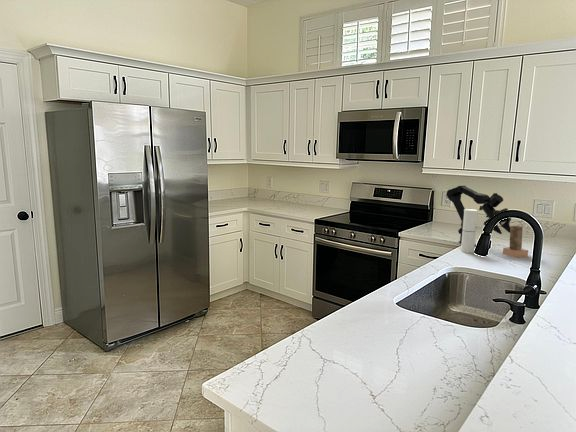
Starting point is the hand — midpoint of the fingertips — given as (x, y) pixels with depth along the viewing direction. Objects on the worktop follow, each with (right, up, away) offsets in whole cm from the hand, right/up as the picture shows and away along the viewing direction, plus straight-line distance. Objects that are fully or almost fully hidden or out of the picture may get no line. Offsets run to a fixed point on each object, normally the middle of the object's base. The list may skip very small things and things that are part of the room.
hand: (506, 233), depth 237 cm
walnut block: (+3, -9, -4) cm, 10 cm away
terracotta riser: (+3, -13, -3) cm, 14 cm away
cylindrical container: (-21, -11, +3) cm, 24 cm away
